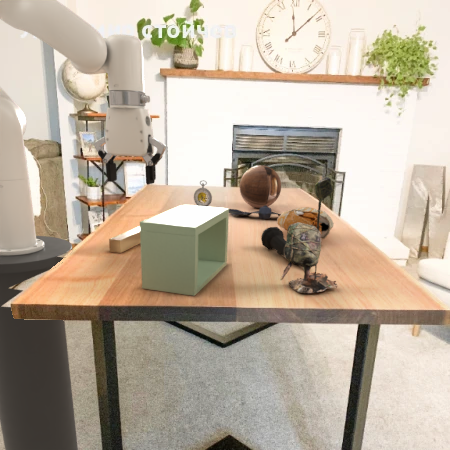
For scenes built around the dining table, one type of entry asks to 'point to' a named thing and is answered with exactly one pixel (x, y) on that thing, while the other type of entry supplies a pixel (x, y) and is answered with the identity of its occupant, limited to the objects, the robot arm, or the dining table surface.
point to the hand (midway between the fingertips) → (131, 182)
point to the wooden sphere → (260, 186)
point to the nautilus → (306, 219)
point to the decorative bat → (263, 212)
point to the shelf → (183, 248)
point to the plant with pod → (308, 248)
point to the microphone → (275, 240)
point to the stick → (125, 240)
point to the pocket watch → (202, 196)
